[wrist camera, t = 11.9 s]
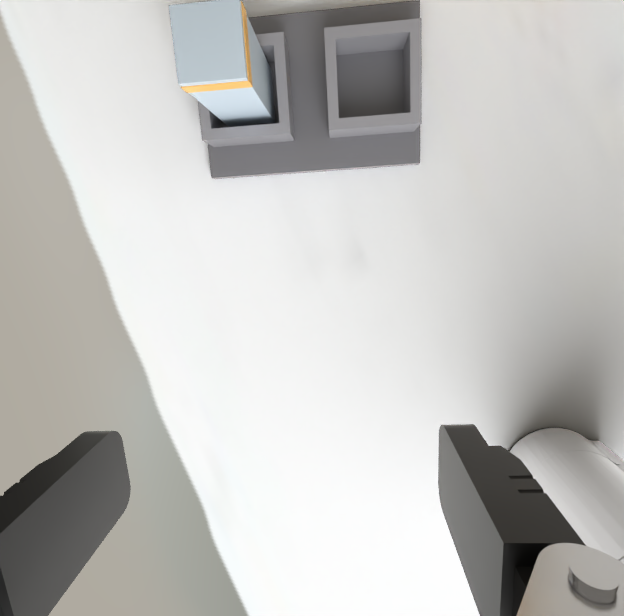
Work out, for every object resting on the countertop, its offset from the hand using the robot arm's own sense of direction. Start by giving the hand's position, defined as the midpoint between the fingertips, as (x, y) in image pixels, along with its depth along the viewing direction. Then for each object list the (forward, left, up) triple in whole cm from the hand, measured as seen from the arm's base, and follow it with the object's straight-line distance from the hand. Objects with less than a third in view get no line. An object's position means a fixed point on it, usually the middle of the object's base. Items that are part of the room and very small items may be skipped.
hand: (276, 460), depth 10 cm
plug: (+5, -16, -27) cm, 32 cm away
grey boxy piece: (0, -16, -28) cm, 32 cm away
